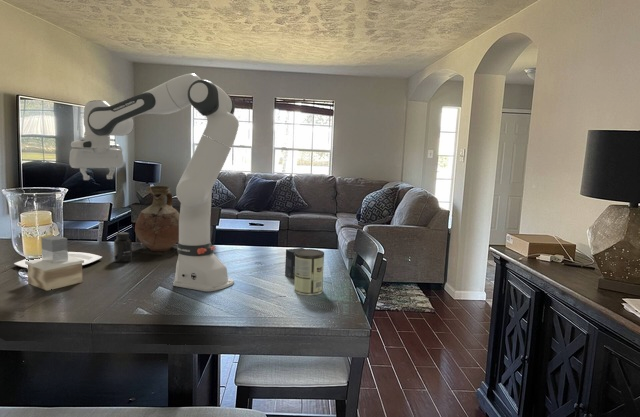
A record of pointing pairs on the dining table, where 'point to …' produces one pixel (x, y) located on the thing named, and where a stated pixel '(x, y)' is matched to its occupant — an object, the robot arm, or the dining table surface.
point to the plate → (84, 256)
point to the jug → (158, 221)
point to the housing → (54, 249)
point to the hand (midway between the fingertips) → (98, 179)
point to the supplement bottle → (122, 248)
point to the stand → (54, 273)
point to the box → (290, 262)
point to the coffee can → (309, 272)
